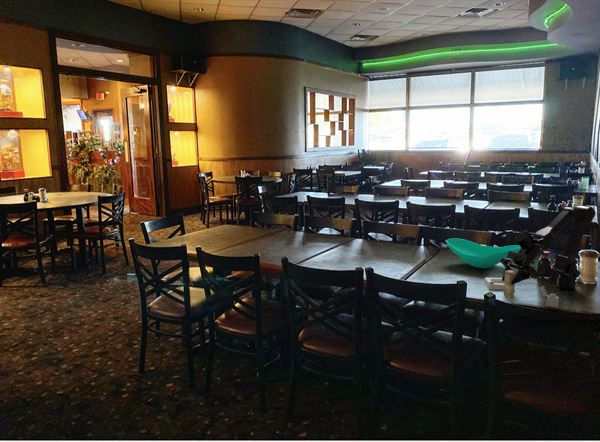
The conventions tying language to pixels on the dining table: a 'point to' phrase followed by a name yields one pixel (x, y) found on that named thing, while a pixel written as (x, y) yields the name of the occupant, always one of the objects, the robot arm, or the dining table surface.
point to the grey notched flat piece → (550, 298)
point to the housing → (494, 283)
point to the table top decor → (479, 252)
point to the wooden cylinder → (509, 283)
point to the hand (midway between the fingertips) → (507, 282)
